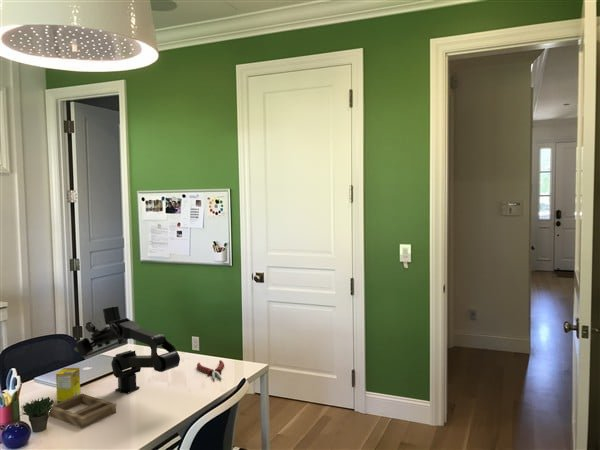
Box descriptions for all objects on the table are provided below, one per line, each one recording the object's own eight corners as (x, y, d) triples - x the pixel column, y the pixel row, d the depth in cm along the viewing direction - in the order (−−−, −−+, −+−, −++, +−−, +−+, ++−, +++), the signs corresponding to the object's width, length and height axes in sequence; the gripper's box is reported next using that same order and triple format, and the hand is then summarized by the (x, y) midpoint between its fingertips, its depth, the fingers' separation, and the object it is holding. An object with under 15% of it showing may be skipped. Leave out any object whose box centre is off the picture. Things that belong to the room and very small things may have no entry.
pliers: (203, 384, 190) (203, 378, 190) (196, 367, 209) (196, 361, 209) (232, 380, 194) (232, 374, 194) (222, 364, 213) (222, 359, 213)
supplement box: (80, 396, 178) (79, 367, 177) (73, 403, 172) (72, 373, 171) (64, 396, 178) (63, 367, 177) (56, 403, 172) (55, 373, 171)
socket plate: (116, 412, 164) (115, 404, 164) (82, 428, 153) (81, 419, 153) (82, 401, 173) (82, 393, 173) (47, 415, 162) (47, 406, 162)
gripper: (118, 307, 196) (91, 317, 201) (84, 326, 178) (56, 336, 184) (129, 331, 196) (102, 340, 202) (97, 353, 179) (68, 362, 185)
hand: (82, 344), depth 193 cm, fingers open, 9 cm apart
